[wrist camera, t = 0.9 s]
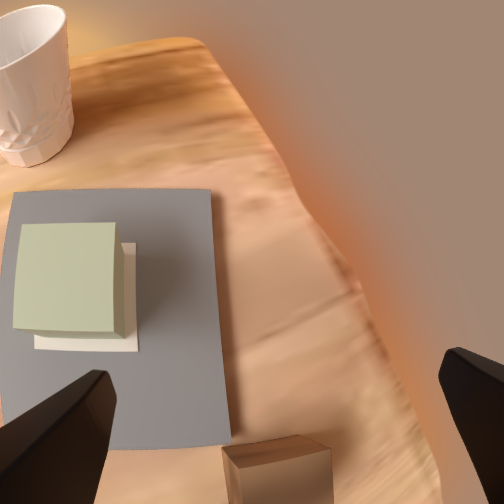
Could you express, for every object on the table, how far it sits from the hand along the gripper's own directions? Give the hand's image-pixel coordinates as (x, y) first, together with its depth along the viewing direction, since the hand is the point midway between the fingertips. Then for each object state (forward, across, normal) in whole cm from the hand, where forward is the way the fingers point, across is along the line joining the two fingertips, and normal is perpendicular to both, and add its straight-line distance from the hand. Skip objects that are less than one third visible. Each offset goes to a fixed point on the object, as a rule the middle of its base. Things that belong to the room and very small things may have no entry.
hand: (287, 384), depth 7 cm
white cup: (+17, +17, -8) cm, 25 cm away
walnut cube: (+6, 0, +13) cm, 15 cm away
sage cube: (+9, +10, +2) cm, 14 cm away
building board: (+10, +10, +3) cm, 14 cm away
